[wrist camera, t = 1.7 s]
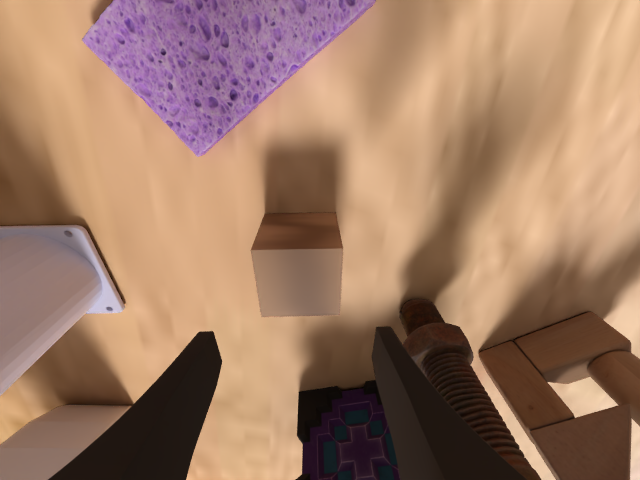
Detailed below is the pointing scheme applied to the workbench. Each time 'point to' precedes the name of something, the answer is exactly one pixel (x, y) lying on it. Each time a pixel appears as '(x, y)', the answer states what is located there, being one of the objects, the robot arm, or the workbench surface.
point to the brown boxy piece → (298, 264)
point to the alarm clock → (54, 440)
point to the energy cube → (345, 435)
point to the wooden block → (552, 413)
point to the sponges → (213, 54)
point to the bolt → (458, 378)
